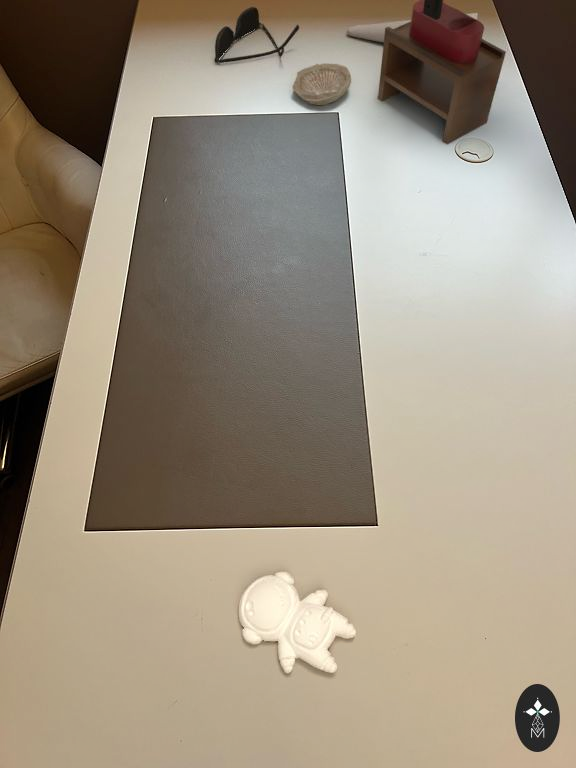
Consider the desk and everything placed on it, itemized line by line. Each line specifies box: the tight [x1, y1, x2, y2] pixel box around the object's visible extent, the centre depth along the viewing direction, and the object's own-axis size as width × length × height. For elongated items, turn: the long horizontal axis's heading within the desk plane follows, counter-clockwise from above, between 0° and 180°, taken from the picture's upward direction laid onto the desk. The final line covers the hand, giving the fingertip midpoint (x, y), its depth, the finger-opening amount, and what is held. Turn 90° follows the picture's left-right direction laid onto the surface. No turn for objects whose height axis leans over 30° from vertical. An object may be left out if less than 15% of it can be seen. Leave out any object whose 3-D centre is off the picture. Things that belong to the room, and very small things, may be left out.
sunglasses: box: [213, 6, 300, 64], centre depth 124 cm, size 17×14×5 cm
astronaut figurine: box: [238, 571, 357, 674], centre depth 63 cm, size 9×12×3 cm
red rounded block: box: [409, 0, 485, 63], centre depth 102 cm, size 14×6×4 cm, turn 38°
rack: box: [377, 22, 507, 145], centre depth 109 cm, size 10×18×13 cm, turn 37°
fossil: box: [292, 63, 352, 106], centre depth 117 cm, size 10×12×3 cm
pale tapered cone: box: [346, 12, 479, 44], centre depth 124 cm, size 8×9×26 cm
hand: (453, 6), depth 99 cm, fingers open, 9 cm apart
